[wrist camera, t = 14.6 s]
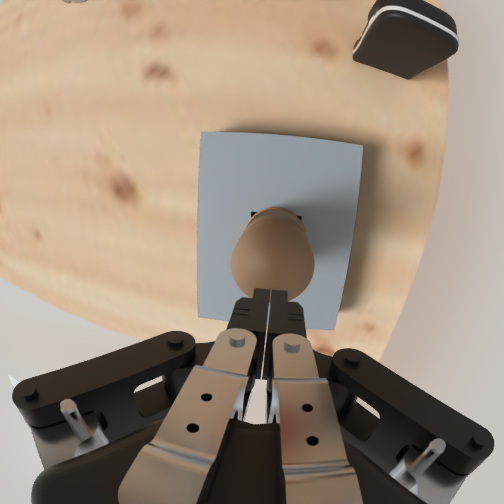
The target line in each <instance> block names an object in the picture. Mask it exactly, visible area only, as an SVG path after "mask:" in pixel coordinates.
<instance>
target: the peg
mask: <svg viewBox="0 0 504 504" xmlns="http://www.w3.org/2000/svg"><path fill="white" fill-rule="evenodd" d="M314 267H315V262H314V256H313V252H312V249H311V246H310V244H309V241H308V238H307V234H306V230H305V228H304V225H303V223H302V222H301V220H300V219H299V218H298V217H297V216H296V215H295V214H294V213H292V212H291V211H289V210H287V209H283V208H278V207H272V208H266V209H263V210H261V211H259V212H257V213H256V214H255V215H254V216H253V217H252V218H251V219H250V220H249V222H248V223H247V225H246V227H245V230H244V231H243V233H242V235H241V237H240V239H239V240H238V242H237V244H236V246H235V248H234V250H233V252H232V256H231V272H232V275H233V278H234V280H235V282H236V284H237V286H238V287H239V288H240V289H241V291H243V292H244V293H245V294H246V295H247V296H249V297H250V298H253V293H254V289H255V288H262V289H270V298H269V304H270V302H271V293H272V290H283V291H288V301H290V300H292V299H294V298H296V297H297V296H299V295H300V294H301V293H302V292H303V291H304V290H305V289H306V288H307V287H308V285H309V284H310V282H311V280H312V277H313V274H314Z"/></svg>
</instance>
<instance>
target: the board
mask: <svg viewBox="0 0 504 504" xmlns="http://www.w3.org/2000/svg"><path fill="white" fill-rule="evenodd" d="M362 155H363V145H357V144H351V143H345V142H339V141H332V140H324V139H316V138H308V137H298V136H288V135H276V134H261V133H240V132H201V139H200V156H199V178H198V209H197V300H198V317H200V318H207V319H215V320H222V321H229V320H230V317H231V314H232V312H233V309H234V306H235V303H236V301H237V300H239V299H240V298H241V297H247V298H250V297H249V296H247V295H246V294H245V293H244V292H243V291H241V289H240V288H239V287H238V286H237V284H236V282H235V280H234V278H233V275H232V272H231V256H232V252H233V250H234V248H235V246H236V244H237V242H238V240H239V239H240V237H241V235H242V233H243V231H244V230H245V227H246V225H247V223H248V222H249V220H250V219H251V218H252V217H253V216H254V212H259V211H261V210H263V209H266V208H272V207H278V208H283V209H287V210H289V211H291V212H292V213H294V214H295V215H296V216H299V219H300V220H301V222H302V223H303V225H304V228H305V230H306V234H307V238H308V241H309V244H310V246H311V249H312V252H313V256H314V262H315V267H314V274H313V277H312V280H311V282H310V284H309V285H308V287H307V288H306V289H305V290H304V291H303V292H302V293H301V294H300V295H299V296H297V297H296V298H294V299H292V300H290V301H289V302H298V303H299V304H300V305H301V306H302V307H303V311H304V319H305V328H306V329H317V330H334V329H335V325H336V320H337V316H338V312H339V307H340V303H341V298H342V294H343V289H344V284H345V279H346V274H347V268H348V263H349V257H350V252H351V246H352V240H353V233H354V227H355V220H356V212H357V204H358V196H359V187H360V178H361V167H362ZM269 312H270V304H269V308H268V318H267V326H268V321H269Z"/></svg>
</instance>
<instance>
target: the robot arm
mask: <svg viewBox="0 0 504 504" xmlns="http://www.w3.org/2000/svg"><path fill="white" fill-rule="evenodd" d="M62 1H64V2H66V3H69V2H75V3H80V2H84V1H86V0H62ZM269 298H270V289H262V288H255V289H254V293H253V298H247V297H241V298H240V299H239V300H237V301H236V303H235V306H234V309H233V312H232V314H231V317H230V320H229V323H228V326H227V329H226V330H225V331H223V332H221V333H220V334H219V335H218V337H217V339H216V341H213V342H209V343H195V339H194V337H193V336H192V335H190V334H188V333H186V332H182V331H170V332H166V333H164V334H161V335H158V336H156V337H153V338H150V339H147V340H145V341H142V342H139V343H136V344H134V345H131V346H128V347H125V348H122V349H119V350H117V351H114V352H111V353H108V354H105V355H102V356H99V357H96V358H93V359H90V360H87V361H84V362H81V363H78V364H75V365H72V366H69V367H66V368H62V369H60V370H56V371H53V372H49V373H46V374H43V375H39V376H36V377H32V378H29V379H26V380H23V381H22V382H20V383H19V384H18V385H17V386H16V387H15V388H14V390H13V394H12V398H13V402H14V403H15V405H16V406H17V408H18V409H19V411H20V412H21V414H22V416H23V417H24V420H25V421H26V423H27V424H28V426H29V427H30V429H31V431H32V434H33V438H34V441H35V444H36V447H37V450H38V453H39V456H40V459H41V461H42V464H43V467H44V469H45V470H44V471H43V472H41V473H40V474H39V476H38V477H37V478H36V480H35V482H34V484H33V487H32V493H31V502H32V504H449V503H450V502H451V500H452V499H453V497H454V496H455V494H456V493H457V491H458V490H459V488H460V487H461V485H462V483H463V482H464V480H465V478H466V477H467V476H468V475H469V474H470V473H472V472H473V471H474V470H475V469H476V468H477V467H478V466H479V465H480V464H481V463H482V462H483V461H484V460H485V459H486V458H487V457H488V456H489V455H490V454H491V453H492V451H493V449H494V439H493V436H492V435H491V433H490V432H489V431H488V430H487V429H486V428H484V427H482V426H481V425H479V424H477V423H476V422H474V421H472V420H471V419H469V418H467V417H466V416H464V415H462V414H460V413H459V412H457V411H456V410H454V409H452V408H451V407H449V406H447V405H446V404H444V403H442V402H441V401H439V400H437V399H436V398H434V397H432V396H431V395H429V394H428V393H426V392H425V391H423V390H421V389H420V388H418V387H417V386H415V385H413V384H412V383H410V382H408V381H407V380H405V379H404V378H402V377H400V376H399V375H397V374H396V373H394V372H392V371H391V370H390V369H388V368H387V367H385V366H383V365H382V364H380V363H379V362H377V361H376V360H374V359H373V358H371V357H369V356H368V355H366V354H365V353H363V352H361V351H359V350H356V349H350V348H346V349H340V350H338V351H336V352H335V353H334V355H333V357H332V356H328V355H324V354H321V353H318V352H316V351H315V350H313V349H312V346H311V343H310V341H309V340H308V339H307V337H306V328H305V319H304V311H303V307H302V306H301V305H300V304H299V303H298V302H289V301H288V291H283V290H272V293H271V302H270V312H269V321H268V330H267V340H266V349H265V358H264V367H263V376H262V379H264V380H267V388H266V395H265V406H266V407H265V408H266V424H250V423H247V422H244V420H245V416H246V413H247V409H248V406H249V402H250V398H251V394H252V389H253V387H254V383H255V379H260V378H261V370H262V362H263V354H264V345H265V336H266V327H267V318H268V308H269ZM159 376H162V379H163V381H161V382H159V383H156V384H154V385H152V386H150V387H147V388H145V389H143V390H140V391H138V392H135V393H134V390H135V389H136V387H138V386H139V385H141V384H143V383H145V382H147V381H150V380H153V379H155V378H157V377H159ZM357 397H359V398H361V399H362V400H363V401H365V402H366V403H367V404H369V405H370V406H371V407H373V408H374V409H375V410H377V412H378V413H379V415H380V419H379V418H377V417H376V416H375V415H373V414H372V413H371V412H369V411H368V410H367V409H365V408H364V407H363V406H361V405H360V404H359V403H357V402H356V400H357Z"/></svg>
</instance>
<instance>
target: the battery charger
mask: <svg viewBox="0 0 504 504" xmlns="http://www.w3.org/2000/svg"><path fill="white" fill-rule="evenodd" d="M458 46H459V39H458V37H457V29H456V24H455V22H454V20H453V19H452V17H451V16H450V15H449V14H447V13H446V12H444V11H442V10H441V9H439V8H437V7H435V6H433V5H431V4H429V3H427V2H425V1H423V0H377V1H376V2H375V4H374V5H373V7H372V9H371V10H370V12H369V15H368V23H367V25H366V27H365V29H364V31H363V33H362V36H361V37H360V39H358V40H357V41H356V43H355V46H354V50H353V52H352V56H353V60H354V61H356V62H359V63H362V64H366V65H369V66H372V67H375V68H378V69H380V70H383V71H386V72H389V73H392V74H395V75H397V76H400V77H403V78H405V79H410V78H412V77H413V76H415V75H416V74H418V73H420V72H422V71H424V70H426V69H428V68H430V67H432V66H434V65H436V64H438V63H440V62H442V61H443V60H445V59H447V58H449V57H450V56H452V55H453V54H455V53H456V52H457V50H458Z"/></svg>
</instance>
